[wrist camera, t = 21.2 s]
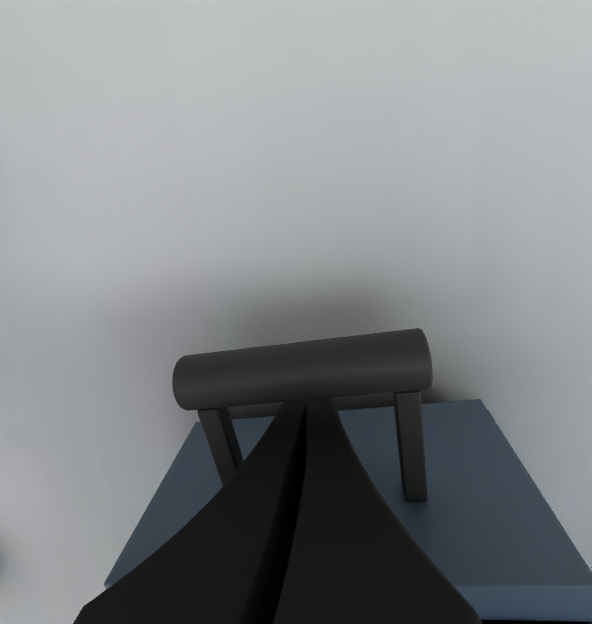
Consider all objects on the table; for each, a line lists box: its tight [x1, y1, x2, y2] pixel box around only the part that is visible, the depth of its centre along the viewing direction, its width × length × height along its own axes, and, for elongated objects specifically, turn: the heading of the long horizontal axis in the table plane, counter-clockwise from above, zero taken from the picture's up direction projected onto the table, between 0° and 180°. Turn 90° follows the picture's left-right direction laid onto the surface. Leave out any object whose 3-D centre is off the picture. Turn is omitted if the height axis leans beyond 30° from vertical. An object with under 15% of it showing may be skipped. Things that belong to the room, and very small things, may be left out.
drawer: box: [104, 328, 592, 624], centre depth 12 cm, size 17×11×6 cm, turn 11°
